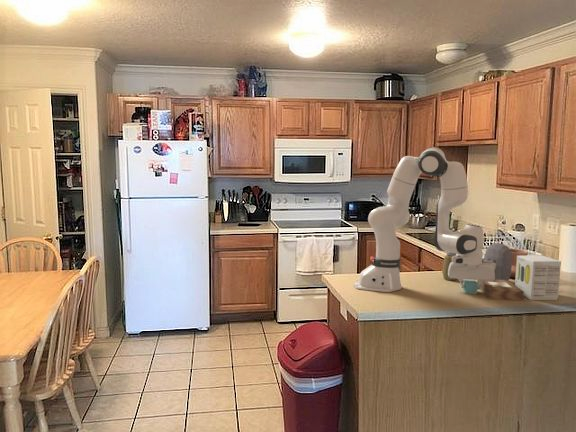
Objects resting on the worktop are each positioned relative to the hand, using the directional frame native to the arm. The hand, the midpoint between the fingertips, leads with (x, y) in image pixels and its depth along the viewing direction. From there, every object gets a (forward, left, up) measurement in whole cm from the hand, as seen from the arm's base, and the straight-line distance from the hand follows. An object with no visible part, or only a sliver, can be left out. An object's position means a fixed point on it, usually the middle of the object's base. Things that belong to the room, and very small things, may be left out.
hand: (470, 288), depth 219 cm
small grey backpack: (+18, +22, -2) cm, 29 cm away
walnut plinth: (+13, 0, -2) cm, 13 cm away
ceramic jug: (+31, +36, -2) cm, 48 cm away
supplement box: (+28, -1, -2) cm, 29 cm away
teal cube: (0, 0, -2) cm, 2 cm away
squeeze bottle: (-4, +23, -2) cm, 23 cm away
